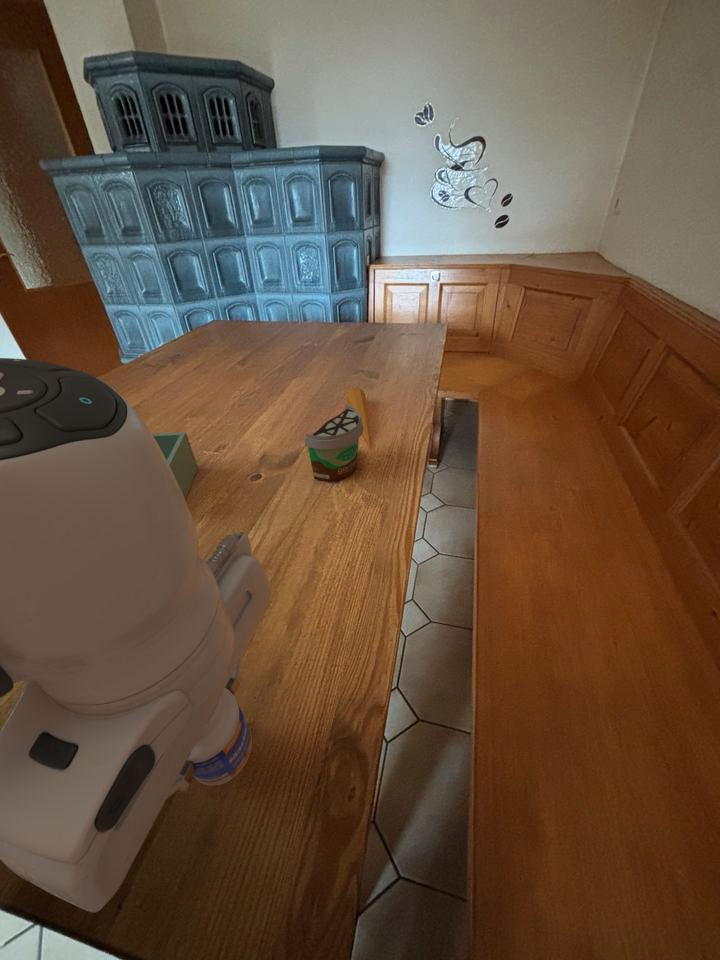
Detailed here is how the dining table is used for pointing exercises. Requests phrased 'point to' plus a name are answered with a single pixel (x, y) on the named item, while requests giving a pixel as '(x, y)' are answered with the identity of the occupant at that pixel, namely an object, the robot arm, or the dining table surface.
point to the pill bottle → (222, 743)
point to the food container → (335, 446)
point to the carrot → (360, 409)
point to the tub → (178, 458)
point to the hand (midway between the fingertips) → (207, 728)
